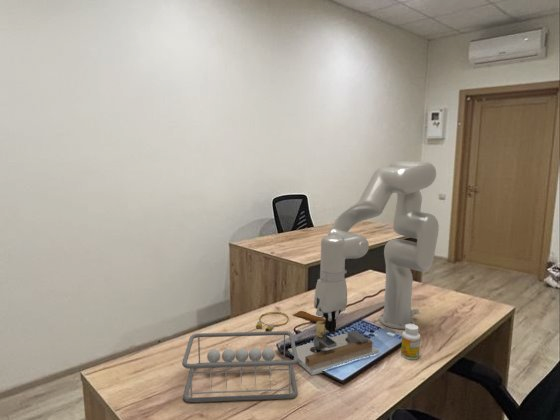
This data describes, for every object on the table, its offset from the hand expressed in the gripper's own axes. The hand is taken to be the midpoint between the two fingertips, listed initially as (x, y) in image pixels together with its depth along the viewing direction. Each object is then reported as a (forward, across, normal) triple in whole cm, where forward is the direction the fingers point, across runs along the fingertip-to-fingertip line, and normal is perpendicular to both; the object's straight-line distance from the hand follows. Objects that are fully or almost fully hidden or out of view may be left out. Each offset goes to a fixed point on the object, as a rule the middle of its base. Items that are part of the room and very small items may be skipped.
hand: (330, 330), depth 128 cm
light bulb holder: (+5, +4, +2) cm, 7 cm away
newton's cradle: (+2, +28, -6) cm, 29 cm away
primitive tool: (+8, -8, -21) cm, 24 cm away
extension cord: (+8, +7, -28) cm, 30 cm away
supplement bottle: (+7, -21, +14) cm, 26 cm away
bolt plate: (+7, 0, +2) cm, 7 cm away
